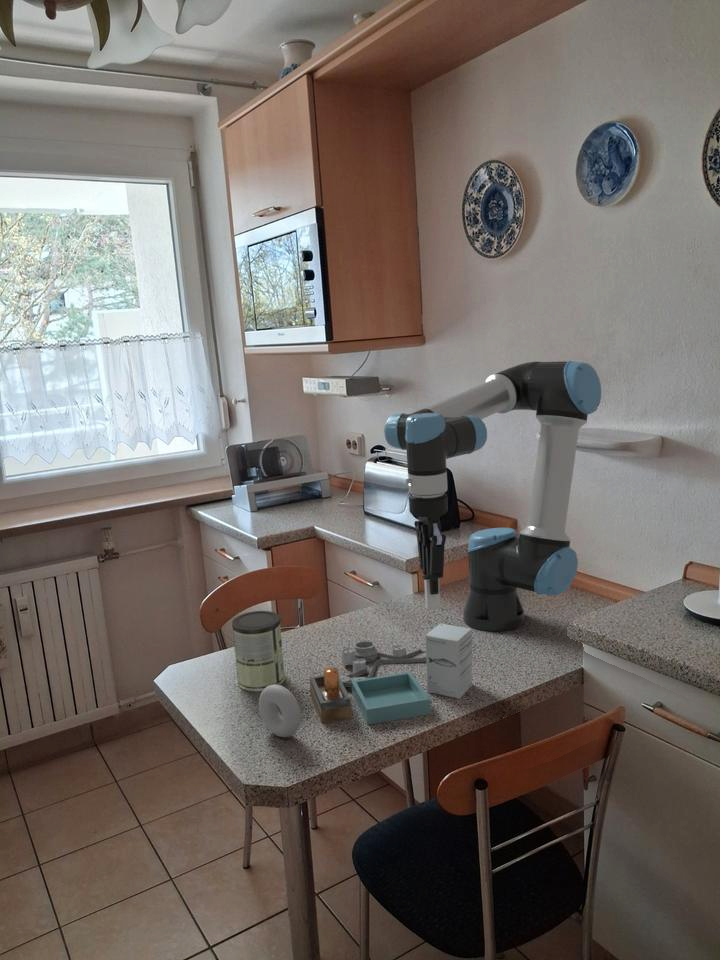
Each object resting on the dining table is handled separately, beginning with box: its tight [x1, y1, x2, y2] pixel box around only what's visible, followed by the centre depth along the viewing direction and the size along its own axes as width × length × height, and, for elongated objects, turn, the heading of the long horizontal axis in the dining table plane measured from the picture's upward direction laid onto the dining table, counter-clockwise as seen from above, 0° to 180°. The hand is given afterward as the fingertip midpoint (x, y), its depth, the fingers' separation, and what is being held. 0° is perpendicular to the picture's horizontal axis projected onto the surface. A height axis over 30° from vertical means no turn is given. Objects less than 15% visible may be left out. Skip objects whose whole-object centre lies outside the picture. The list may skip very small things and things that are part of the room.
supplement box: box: [425, 622, 473, 700], centre depth 158 cm, size 7×7×13 cm
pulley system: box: [339, 640, 427, 688], centre depth 172 cm, size 27×5×15 cm
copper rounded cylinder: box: [322, 666, 343, 701], centre depth 150 cm, size 4×4×6 cm
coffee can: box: [231, 610, 286, 693], centre depth 165 cm, size 10×10×14 cm
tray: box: [350, 671, 431, 726], centre depth 153 cm, size 13×13×3 cm
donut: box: [258, 684, 302, 738], centre depth 143 cm, size 10×4×10 cm, turn 48°
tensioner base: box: [309, 674, 353, 724], centre depth 154 cm, size 6×12×4 cm, turn 14°
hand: (433, 607), depth 155 cm, fingers closed
